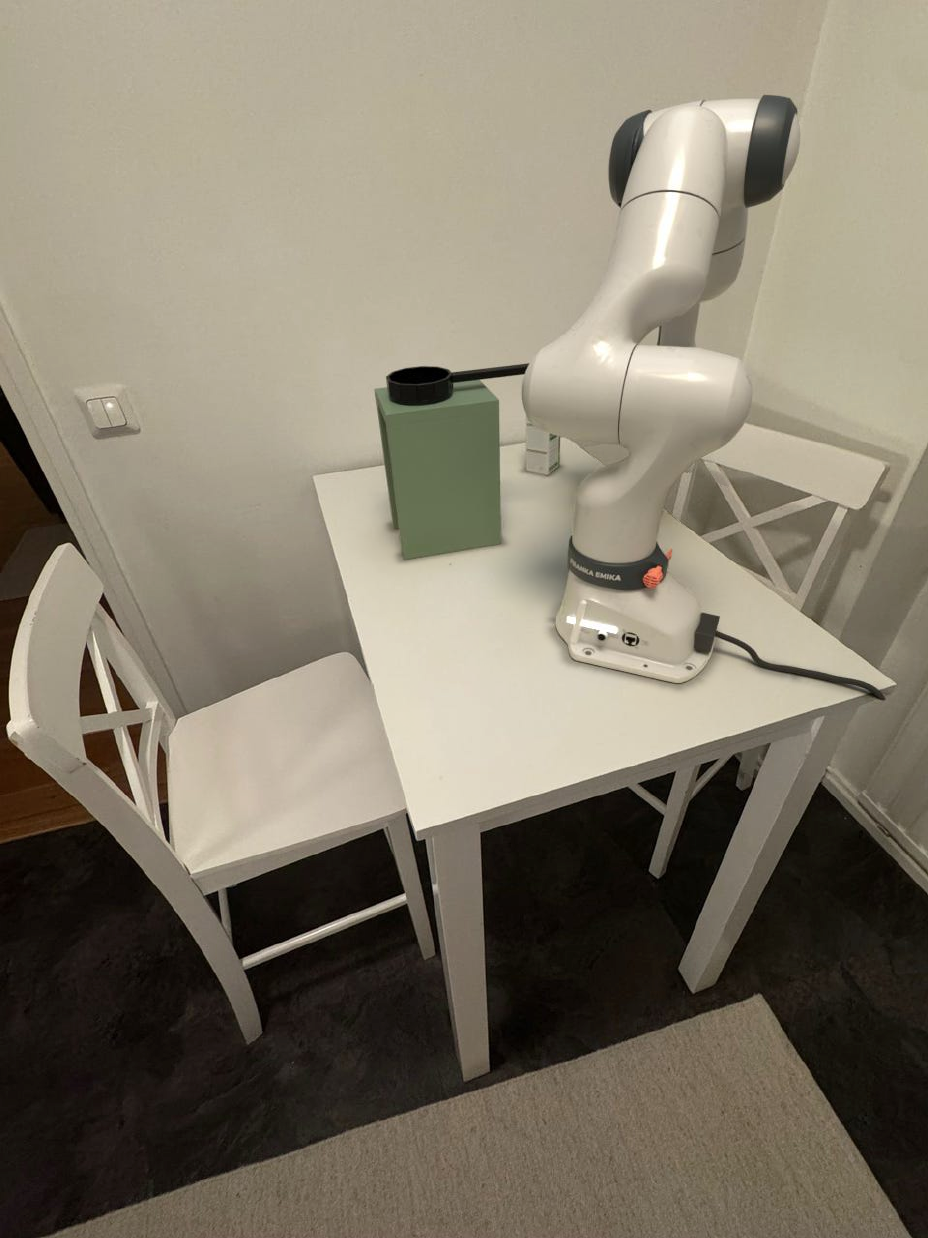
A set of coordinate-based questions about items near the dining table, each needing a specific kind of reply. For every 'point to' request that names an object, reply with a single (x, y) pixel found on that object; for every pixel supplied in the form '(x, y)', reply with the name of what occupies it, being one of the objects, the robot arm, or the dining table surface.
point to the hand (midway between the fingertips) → (566, 387)
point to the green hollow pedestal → (443, 470)
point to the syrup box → (541, 450)
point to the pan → (437, 382)
